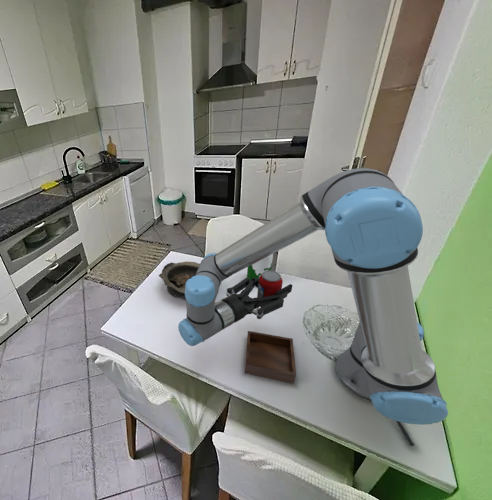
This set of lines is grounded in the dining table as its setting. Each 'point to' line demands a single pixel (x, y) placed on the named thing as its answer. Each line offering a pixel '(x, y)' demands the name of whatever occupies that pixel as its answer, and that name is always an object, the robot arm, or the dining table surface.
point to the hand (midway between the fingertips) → (280, 282)
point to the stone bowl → (178, 276)
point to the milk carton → (259, 267)
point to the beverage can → (269, 284)
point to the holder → (270, 357)
